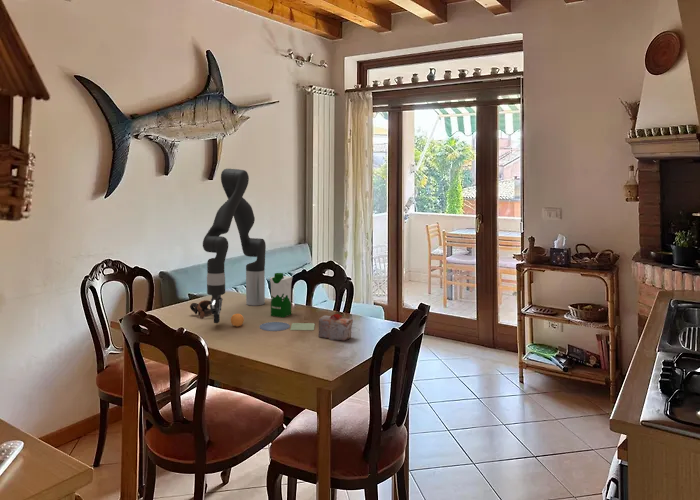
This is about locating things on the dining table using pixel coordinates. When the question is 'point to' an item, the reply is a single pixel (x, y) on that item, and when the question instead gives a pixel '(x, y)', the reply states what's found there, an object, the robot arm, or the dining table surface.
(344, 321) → the food item
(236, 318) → the ball
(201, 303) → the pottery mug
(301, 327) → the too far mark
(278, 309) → the milk carton
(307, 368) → the dining table surface
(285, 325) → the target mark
